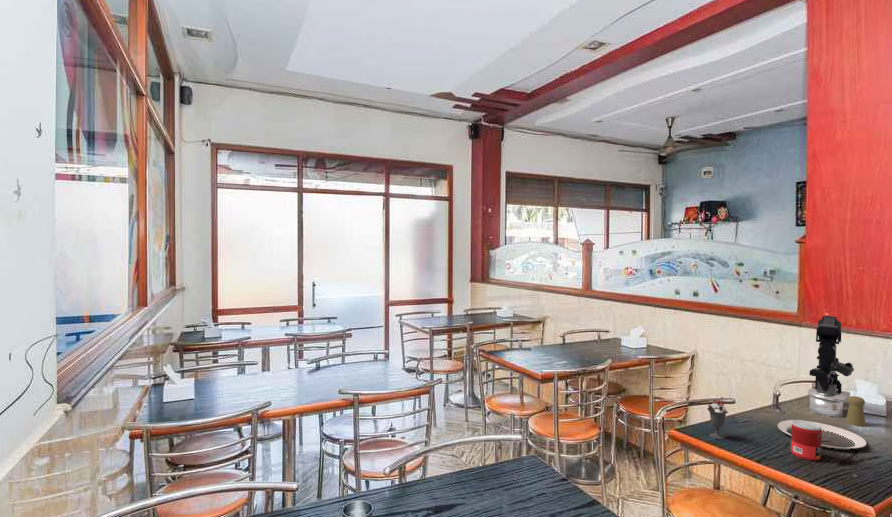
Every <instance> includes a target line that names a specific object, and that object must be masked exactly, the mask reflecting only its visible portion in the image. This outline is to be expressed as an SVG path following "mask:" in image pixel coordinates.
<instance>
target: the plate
mask: <svg viewBox="0 0 892 517" xmlns="http://www.w3.org/2000/svg"><path fill="white" fill-rule="evenodd" d="M793 420H794V419H788V420H782V421H780V422H778V424H777V428H778V429H779V430H780V431H782V432H783V433H785V434H787V435H789V436H790V437H791V433H789V432H787V430H788V429H789V430H791V429H790V428H791V426H792V421H793ZM808 421H809V420H808ZM809 422H811V421H809ZM812 422H813V423H816V424H818V425H820V426H821V429H822V431H823V430H824V431H823V432H827V431H829V432H828V433H831V432H833V433H832V434H834V433H836V434H835V435H837V434H839V435H838V436H840V435H841V436H840V437H842V436H844V437H843V438H845V437H846V438H845V439H847V438H848V439H847V440H849V439H850V440H852V441H853V442H854V443H855V446H854V445H853V446H850V447H849V446H848V447H847V446H846V447H842V446H832V445H827V444H822V443H821V448H825V447H826V448H827V449H831V448H834V449H833V450H852V449H861V448H865V447H866V446H867V442H866V440H865V439H864V438H863V437H862V436H860V435H858V434H856V433H853V432H852V431H850V430H847V429H844V428H841V427H838V426H834V425H831V424H827V423H821V422H816V421H812ZM789 430H788V431H789ZM850 440H849V441H850ZM852 441H851V442H852ZM853 442H852V443H853ZM854 443H853V444H854ZM826 448H825V449H826ZM851 448H852V449H851Z"/></svg>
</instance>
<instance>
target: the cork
mask: <svg viewBox="0 0 892 517" xmlns="http://www.w3.org/2000/svg"><path fill="white" fill-rule="evenodd" d="M847 403H848V404H849V405H848V409H847V414H846V419H845V423H846V424H847V425H851V426H853V425H854V427H859V426H860V427H861V428H865V427H867V425H866V419H865V411H864V406H865V404H866V402H865V399H864V398H863V397H860V396H856V395H850V396H848V397H847ZM864 426H865V427H864ZM860 427H859V428H860Z"/></svg>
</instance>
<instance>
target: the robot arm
mask: <svg viewBox="0 0 892 517" xmlns="http://www.w3.org/2000/svg"><path fill="white" fill-rule="evenodd" d="M815 334H816V335H815V342H816V343H818V347H817V348H818V349H817V354H818V356H816V359H817V360H818V365H816V367H815V368H812V369H810V370H809V374H808V375H809V376H811V377H814V378H815V382H814V383H815V388H814V389H817V382H819V383H820V385H821V387H822V389H823V391H827V389H828V384H829V383H830V384H835V385H837V390H836V392H837V393H840V394H842V386H843V385H842V383H841V382H840V379H838V377H839V376H840V374H841V375H842V376H844V377H849V376H851V375H852V373H853V372H855V371H854V369H855V368H854V367H853V366H854V365H853V363H851V362H846V363H843V362H840V360H839V358H838V357H837V345H840V343H842V322H841V321H840V320H838V319H837V317H836V316H832V315H822V318H820V319H819V320H818V322H817V327H816V332H815ZM838 373H839V374H838Z"/></svg>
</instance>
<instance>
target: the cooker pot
mask: <svg viewBox="0 0 892 517" xmlns="http://www.w3.org/2000/svg"><path fill="white" fill-rule="evenodd" d="M809 411H810V412H811V413H814V414H816V413H817V415H820V414H821V415H820V416H824V415H826V416H825V417H830V416H833V417H832V418H841V416H842V417H843V416H844V414H843V413H844V401H832V400H825V399H821V398H817V397H814V396H811V395H809Z"/></svg>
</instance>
